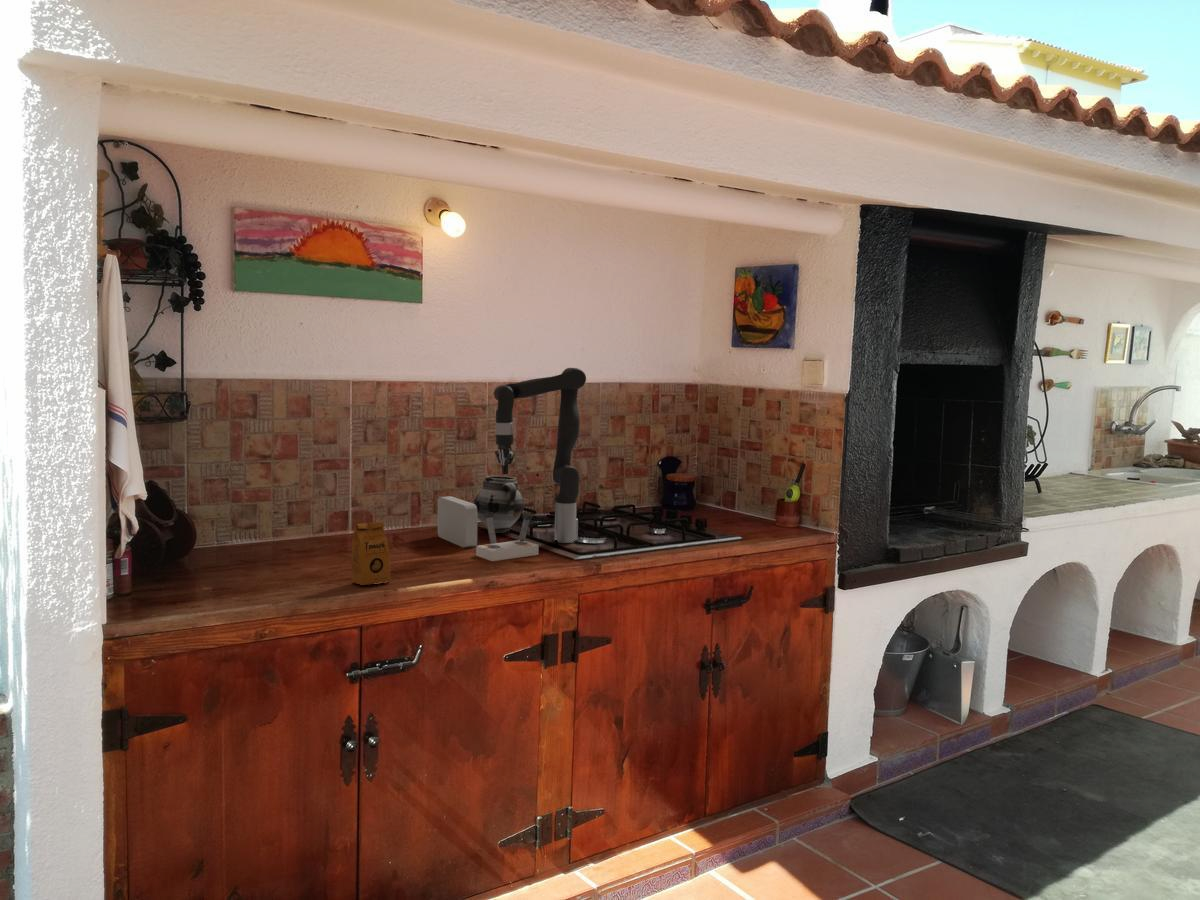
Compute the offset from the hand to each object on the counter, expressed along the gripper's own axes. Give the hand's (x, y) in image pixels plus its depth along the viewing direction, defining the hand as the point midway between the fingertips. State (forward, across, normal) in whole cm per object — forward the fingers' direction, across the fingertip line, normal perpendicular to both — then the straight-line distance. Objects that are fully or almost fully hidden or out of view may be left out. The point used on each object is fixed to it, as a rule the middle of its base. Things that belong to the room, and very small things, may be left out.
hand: (505, 473), depth 407 cm
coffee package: (+29, -33, +75) cm, 87 cm away
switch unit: (+30, -18, +10) cm, 37 cm away
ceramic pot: (+31, +27, -13) cm, 43 cm away
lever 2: (+25, -18, +4) cm, 31 cm away
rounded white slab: (+30, +16, +15) cm, 37 cm away
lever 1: (+25, -18, +17) cm, 35 cm away
